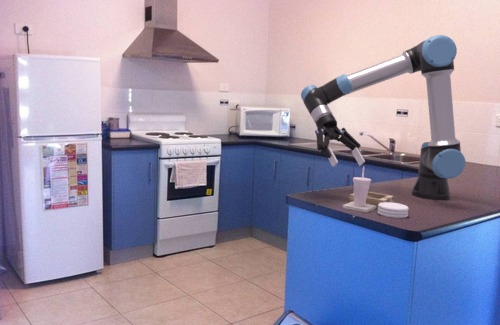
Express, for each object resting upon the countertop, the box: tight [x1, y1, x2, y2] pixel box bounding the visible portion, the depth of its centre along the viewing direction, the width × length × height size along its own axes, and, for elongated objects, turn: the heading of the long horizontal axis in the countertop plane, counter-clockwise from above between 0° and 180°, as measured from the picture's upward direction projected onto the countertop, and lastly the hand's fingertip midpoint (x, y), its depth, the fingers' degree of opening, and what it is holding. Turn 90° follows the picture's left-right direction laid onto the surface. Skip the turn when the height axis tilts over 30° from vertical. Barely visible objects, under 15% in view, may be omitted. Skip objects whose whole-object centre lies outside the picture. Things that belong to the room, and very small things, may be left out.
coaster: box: [377, 202, 410, 219], centre depth 157 cm, size 10×10×4 cm
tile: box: [342, 202, 377, 213], centre depth 163 cm, size 9×9×1 cm
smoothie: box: [352, 166, 372, 207], centre depth 162 cm, size 6×6×14 cm
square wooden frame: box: [348, 191, 395, 209], centre depth 174 cm, size 13×13×3 cm
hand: (349, 164), depth 166 cm, fingers open, 13 cm apart
